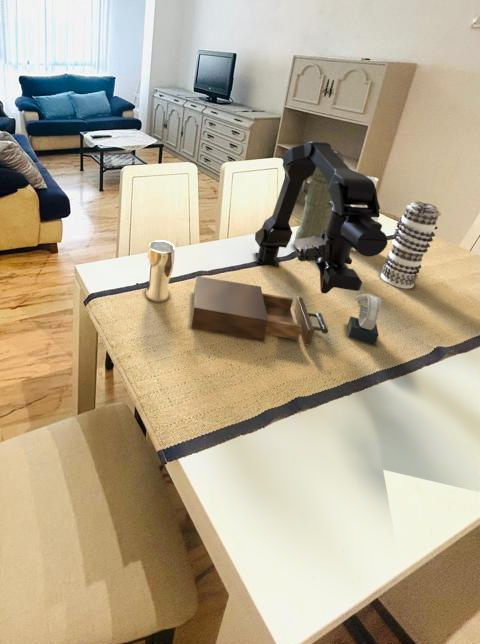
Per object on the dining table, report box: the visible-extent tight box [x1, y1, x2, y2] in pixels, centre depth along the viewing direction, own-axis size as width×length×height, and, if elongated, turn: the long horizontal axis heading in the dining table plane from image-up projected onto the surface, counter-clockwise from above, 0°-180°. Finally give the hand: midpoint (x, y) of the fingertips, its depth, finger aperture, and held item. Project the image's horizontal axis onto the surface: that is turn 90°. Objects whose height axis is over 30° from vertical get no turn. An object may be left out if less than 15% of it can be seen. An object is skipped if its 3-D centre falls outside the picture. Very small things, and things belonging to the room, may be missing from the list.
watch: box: [346, 293, 382, 346], centre depth 91 cm, size 6×8×11 cm
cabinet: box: [191, 275, 268, 342], centre depth 96 cm, size 17×14×6 cm
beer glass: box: [145, 239, 176, 303], centre depth 102 cm, size 7×7×15 cm
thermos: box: [293, 149, 345, 250], centre depth 126 cm, size 9×12×35 cm
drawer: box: [262, 292, 329, 346], centre depth 94 cm, size 20×12×4 cm, turn 78°
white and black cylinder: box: [380, 201, 442, 289], centre depth 112 cm, size 9×9×25 cm
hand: (323, 292), depth 89 cm, fingers closed
